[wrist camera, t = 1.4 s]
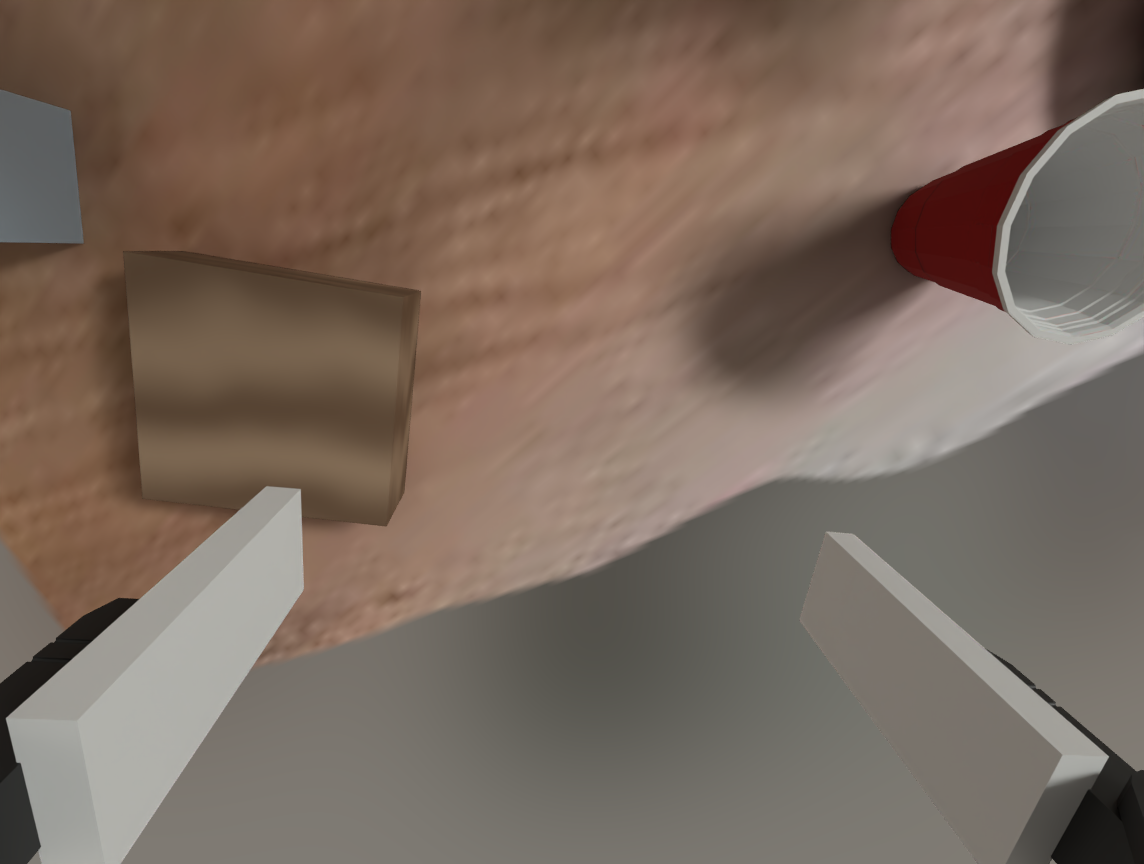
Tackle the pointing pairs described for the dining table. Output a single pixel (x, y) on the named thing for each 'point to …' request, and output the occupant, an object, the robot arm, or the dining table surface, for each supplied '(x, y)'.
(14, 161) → the slate cube
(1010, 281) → the plastic cup
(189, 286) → the walnut block
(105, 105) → the dining table surface
